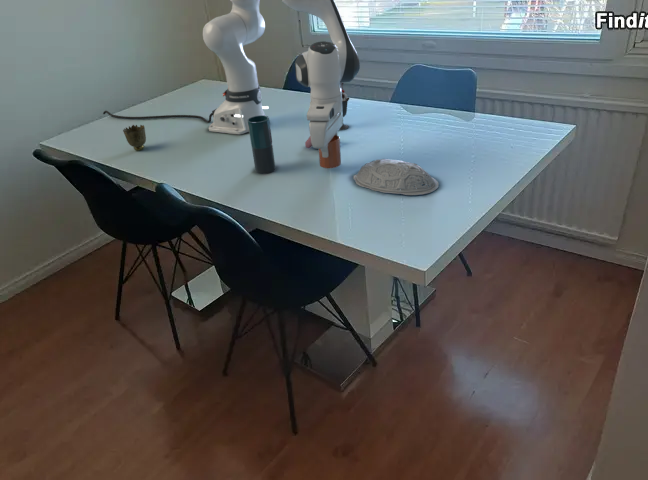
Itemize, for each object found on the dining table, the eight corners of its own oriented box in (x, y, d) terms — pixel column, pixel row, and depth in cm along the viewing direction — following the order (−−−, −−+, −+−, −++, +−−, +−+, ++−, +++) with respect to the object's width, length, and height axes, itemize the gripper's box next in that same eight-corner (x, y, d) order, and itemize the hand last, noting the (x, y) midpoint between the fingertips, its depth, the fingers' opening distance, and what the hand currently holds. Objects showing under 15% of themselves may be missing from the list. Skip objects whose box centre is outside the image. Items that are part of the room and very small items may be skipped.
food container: (422, 199, 141) (422, 174, 138) (342, 186, 156) (341, 163, 153) (448, 182, 152) (449, 158, 149) (371, 171, 166) (370, 149, 163)
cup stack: (252, 173, 168) (244, 122, 159) (260, 165, 173) (252, 115, 164) (271, 174, 166) (264, 122, 157) (278, 165, 171) (271, 115, 162)
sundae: (351, 123, 197) (349, 81, 188) (350, 130, 191) (348, 86, 183) (332, 124, 198) (329, 82, 189) (331, 131, 192) (328, 88, 184)
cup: (317, 167, 162) (315, 142, 158) (323, 159, 167) (321, 134, 163) (337, 169, 160) (336, 142, 156) (343, 160, 165) (342, 134, 161)
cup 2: (153, 145, 198) (148, 124, 194) (142, 153, 192) (136, 131, 188) (136, 145, 200) (130, 124, 196) (125, 153, 195) (118, 131, 190)
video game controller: (309, 155, 180) (312, 139, 174) (303, 145, 182) (306, 130, 176) (335, 147, 183) (339, 131, 177) (329, 138, 185) (332, 122, 179)
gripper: (326, 93, 163) (329, 138, 170) (304, 116, 147) (308, 164, 155) (347, 93, 161) (349, 138, 168) (326, 117, 145) (330, 165, 153)
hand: (329, 151), depth 161 cm, fingers closed on cup, 6 cm apart
